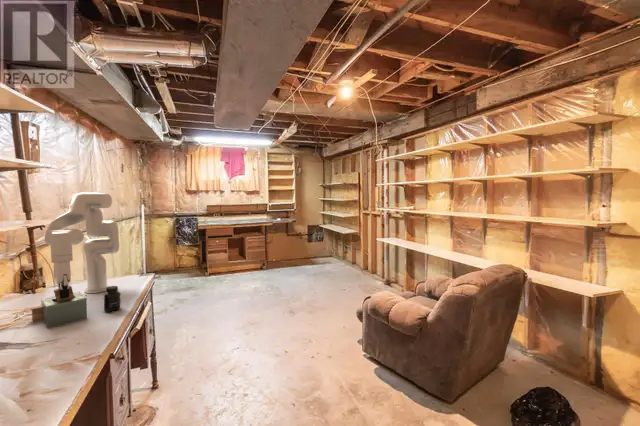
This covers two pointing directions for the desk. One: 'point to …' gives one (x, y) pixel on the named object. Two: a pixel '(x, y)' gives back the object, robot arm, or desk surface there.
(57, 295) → the block
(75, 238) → the robot arm
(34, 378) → the desk surface
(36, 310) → the token
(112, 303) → the supplement bottle
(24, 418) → the desk surface
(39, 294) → the desk surface
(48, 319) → the box
